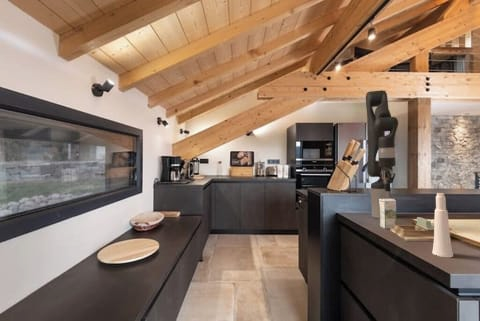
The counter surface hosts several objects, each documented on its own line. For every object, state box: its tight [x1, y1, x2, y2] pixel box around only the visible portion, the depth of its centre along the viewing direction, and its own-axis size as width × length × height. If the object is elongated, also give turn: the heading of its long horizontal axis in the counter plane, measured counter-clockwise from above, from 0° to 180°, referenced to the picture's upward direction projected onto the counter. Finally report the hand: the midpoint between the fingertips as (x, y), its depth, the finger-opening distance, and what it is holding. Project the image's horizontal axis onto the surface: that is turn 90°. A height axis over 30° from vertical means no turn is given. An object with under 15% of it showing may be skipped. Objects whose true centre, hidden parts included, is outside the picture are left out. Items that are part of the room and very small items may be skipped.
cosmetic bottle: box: [431, 192, 454, 258], centre depth 94 cm, size 6×6×22 cm
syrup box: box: [379, 198, 397, 230], centre depth 132 cm, size 6×6×14 cm
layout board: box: [389, 224, 452, 242], centre depth 117 cm, size 17×17×4 cm
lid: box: [415, 216, 453, 231], centre depth 116 cm, size 10×10×4 cm
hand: (387, 191), depth 132 cm, fingers closed
